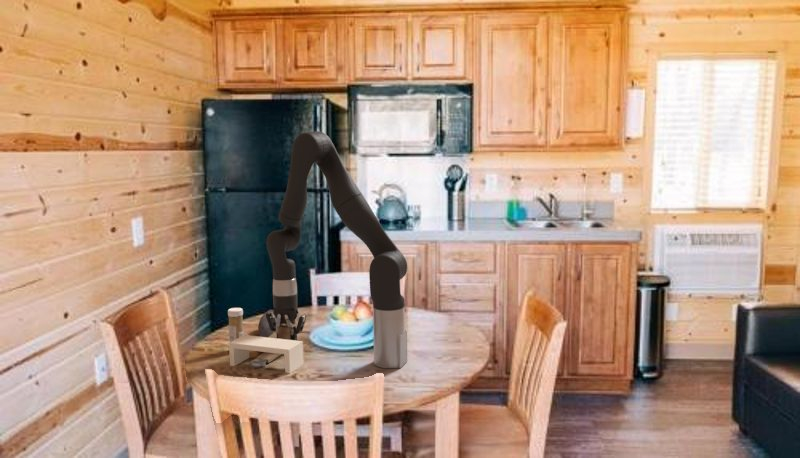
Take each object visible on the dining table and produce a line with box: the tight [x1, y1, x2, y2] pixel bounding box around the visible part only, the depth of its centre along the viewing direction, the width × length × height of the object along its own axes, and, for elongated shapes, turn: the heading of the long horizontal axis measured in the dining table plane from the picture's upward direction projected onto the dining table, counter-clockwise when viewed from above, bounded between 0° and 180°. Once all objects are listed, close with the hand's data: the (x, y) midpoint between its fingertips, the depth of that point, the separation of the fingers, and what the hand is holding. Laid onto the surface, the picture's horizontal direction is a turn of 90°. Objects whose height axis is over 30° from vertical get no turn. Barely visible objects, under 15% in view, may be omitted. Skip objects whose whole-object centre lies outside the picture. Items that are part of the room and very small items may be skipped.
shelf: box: [228, 334, 305, 374], centre depth 185 cm, size 20×8×7 cm, turn 70°
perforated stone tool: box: [257, 309, 277, 337], centre depth 215 cm, size 15×5×7 cm, turn 175°
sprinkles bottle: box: [227, 307, 245, 343], centre depth 198 cm, size 5×5×13 cm
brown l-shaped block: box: [255, 324, 291, 364], centre depth 194 cm, size 4×16×7 cm, turn 160°
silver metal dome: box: [249, 358, 267, 369], centre depth 185 cm, size 4×4×2 cm
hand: (286, 344), depth 200 cm, fingers closed on brown l-shaped block, 4 cm apart
